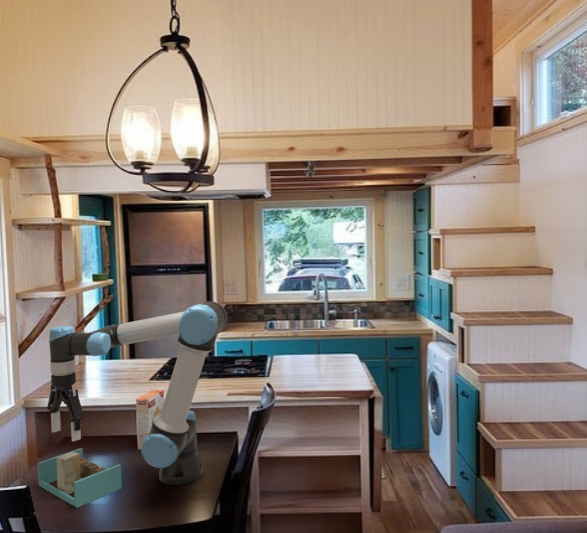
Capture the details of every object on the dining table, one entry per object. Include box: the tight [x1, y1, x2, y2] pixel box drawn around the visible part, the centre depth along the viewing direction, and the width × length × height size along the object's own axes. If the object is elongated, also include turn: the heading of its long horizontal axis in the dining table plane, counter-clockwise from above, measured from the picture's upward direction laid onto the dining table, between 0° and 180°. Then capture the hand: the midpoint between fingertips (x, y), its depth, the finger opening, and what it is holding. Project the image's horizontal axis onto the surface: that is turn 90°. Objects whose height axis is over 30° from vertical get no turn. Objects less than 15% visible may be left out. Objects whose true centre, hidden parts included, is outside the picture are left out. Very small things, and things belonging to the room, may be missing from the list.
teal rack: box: [37, 447, 123, 508], centre depth 177 cm, size 26×16×8 cm, turn 51°
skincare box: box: [56, 451, 81, 495], centre depth 174 cm, size 6×4×12 cm
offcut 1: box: [80, 457, 90, 479], centre depth 185 cm, size 5×3×6 cm, turn 51°
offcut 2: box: [94, 466, 107, 474], centre depth 176 cm, size 5×3×6 cm, turn 51°
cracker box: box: [135, 389, 165, 451], centre depth 214 cm, size 14×6×21 cm, turn 168°
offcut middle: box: [83, 461, 100, 478], centre depth 181 cm, size 5×3×6 cm, turn 51°
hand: (66, 435), depth 174 cm, fingers open, 13 cm apart
